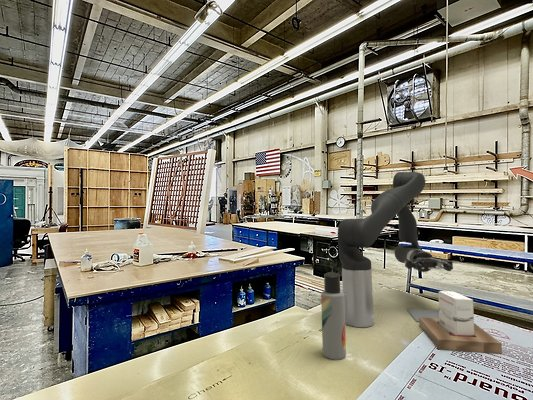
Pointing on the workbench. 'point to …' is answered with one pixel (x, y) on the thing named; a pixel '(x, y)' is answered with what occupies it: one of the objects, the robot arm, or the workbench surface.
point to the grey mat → (423, 313)
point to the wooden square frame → (460, 338)
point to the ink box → (456, 314)
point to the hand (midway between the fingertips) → (435, 268)
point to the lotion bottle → (333, 317)
